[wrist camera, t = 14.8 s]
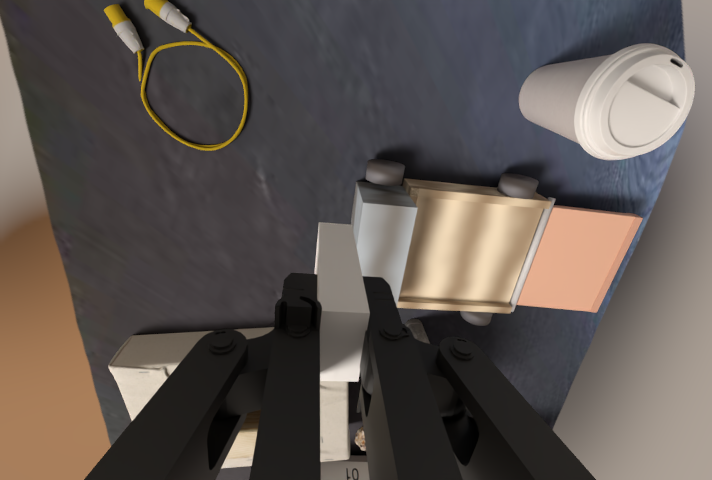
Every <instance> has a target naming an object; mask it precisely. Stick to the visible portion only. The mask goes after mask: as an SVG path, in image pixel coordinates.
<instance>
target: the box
mask: <svg viewBox="0 0 712 480" xmlns="http://www.w3.org/2000/svg"><path fill="white" fill-rule="evenodd" d="M274 328H275V327H268V328H251V329H234V330H236V331H238V332H241V333H242V334H243V335H244V336H245V337H246V339H251V338H256V337H260V336H263V335H265V334H267V333H269V332H270V331H272V330H273V329H274ZM210 332H212V331H202V332H184V333H167V334H150V335H132V336H131V337H130V338H129V339H128V340H127V341H126V342H125V343H124V344H123V345H122V347H121V348H120V349H119V350H118V352H117V353H116V354H115V356H114V357H113V359H112V360H111V362H110V364H109V369H110V371H111V373H112V374H113V376H114V378H115V380H116V382H117V384H118V386H119V389H120V391H121V394H122V396H123V399H124V401H125V404H126V407H127V409H128V412H129V414H130V417H131V419H132V421H133V420H134V418H135V417H136V416H137V415H138V414H139V412H140V411H141V410H142V409H143V407H144V406H145V405H146V404H147V403H148V401H149V400H150V399H151V398H152V396H153V395H154V394H155V393H156V392H157V390H158V389H159V388H160V387H161V386H162V384H163V383H164V382H165V381H166V379H167V378H168V377H169V376H170V375H171V373H172V372H173V371H174V370H175V369H176V367H177V366H178V365H179V364H180V362H181V361H182V360H183V359H184V358H185V356H186V355H187V354H188V353H189V351H190V350H191V349H192V348H193V347H194V345H195V344H196V343H197V342H198V341H199V340H200V339H201V338H202V337H203V336H204V335H205V334H208V333H210ZM348 409H349V406H348V381H320V462H326V461H338V460H347V459H349V458H350V435H349V427H348ZM260 413H261V409H260V410H257V411H253V412H250V413H247V416H246V419H245V421H244V423H243V425H242V427H241V429H240V431H239V433H238V435H237V437H236V439H235V441H234V443H233V445H232V447H231V449H230V451H229V453H228V455H227V457H226V459H225V461H224V463H223V465H222V467H221V468H230V467H242V466H252V461H253V455H254V449H255V443H256V437H257V431H258V425H259V419H260Z"/></svg>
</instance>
